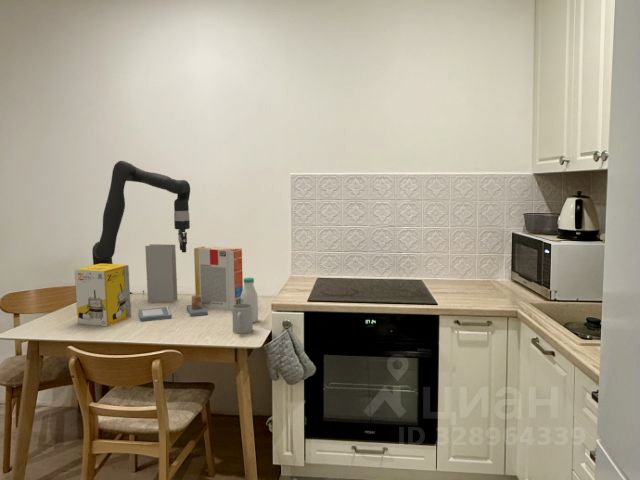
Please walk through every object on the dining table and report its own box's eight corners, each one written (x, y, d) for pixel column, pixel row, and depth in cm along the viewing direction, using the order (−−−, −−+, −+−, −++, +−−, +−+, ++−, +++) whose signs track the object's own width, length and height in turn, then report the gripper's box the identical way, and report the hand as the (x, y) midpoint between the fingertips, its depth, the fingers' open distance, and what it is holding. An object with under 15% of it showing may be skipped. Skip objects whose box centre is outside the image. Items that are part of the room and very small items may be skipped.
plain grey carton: (177, 299, 278) (175, 244, 275) (173, 302, 273) (171, 246, 269) (152, 299, 280) (149, 244, 276) (147, 301, 274) (145, 245, 271)
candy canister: (260, 319, 239) (260, 277, 237) (253, 324, 232) (252, 280, 229) (245, 318, 242) (245, 276, 239) (238, 322, 234) (237, 279, 232)
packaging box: (131, 316, 245) (128, 265, 242) (107, 326, 229) (104, 271, 226) (102, 314, 250) (100, 263, 246) (77, 323, 234) (74, 269, 231)
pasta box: (243, 306, 263) (241, 248, 259) (235, 310, 256) (233, 250, 252) (204, 302, 271) (203, 246, 268) (196, 306, 264) (193, 248, 260)
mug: (235, 327, 227) (234, 303, 225) (254, 328, 226) (254, 303, 225) (228, 336, 215) (227, 310, 213) (248, 336, 214) (248, 310, 213)
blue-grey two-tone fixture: (190, 316, 245) (190, 300, 244) (186, 308, 259) (186, 293, 258) (207, 314, 247) (207, 299, 247) (202, 306, 262) (202, 292, 261)
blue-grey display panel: (140, 321, 236) (139, 317, 236) (138, 313, 251) (138, 309, 251) (171, 318, 241) (171, 314, 241) (168, 310, 256) (168, 306, 256)
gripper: (172, 218, 267) (174, 249, 269) (175, 221, 253) (177, 253, 255) (187, 218, 269) (188, 249, 271) (191, 220, 256) (192, 252, 258)
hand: (183, 251), depth 263 cm, fingers open, 8 cm apart
